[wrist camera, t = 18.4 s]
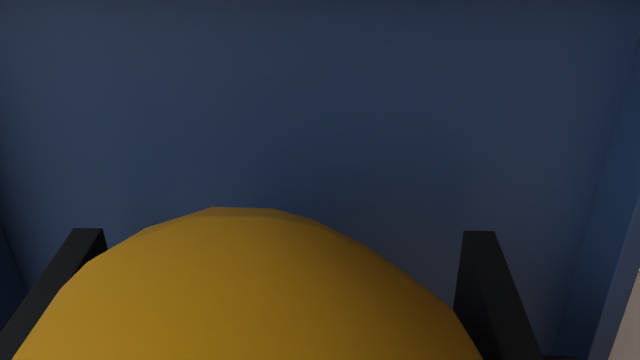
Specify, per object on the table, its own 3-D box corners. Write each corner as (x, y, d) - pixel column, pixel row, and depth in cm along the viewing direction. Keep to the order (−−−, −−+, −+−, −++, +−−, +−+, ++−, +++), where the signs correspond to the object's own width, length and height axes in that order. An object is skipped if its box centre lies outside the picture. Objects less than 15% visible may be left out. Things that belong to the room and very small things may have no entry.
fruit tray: (59, 392, 22) (27, 455, 19) (-112, -73, 13) (-202, -55, 11) (547, 400, 21) (572, 467, 19) (683, -83, 13) (756, -67, 11)
